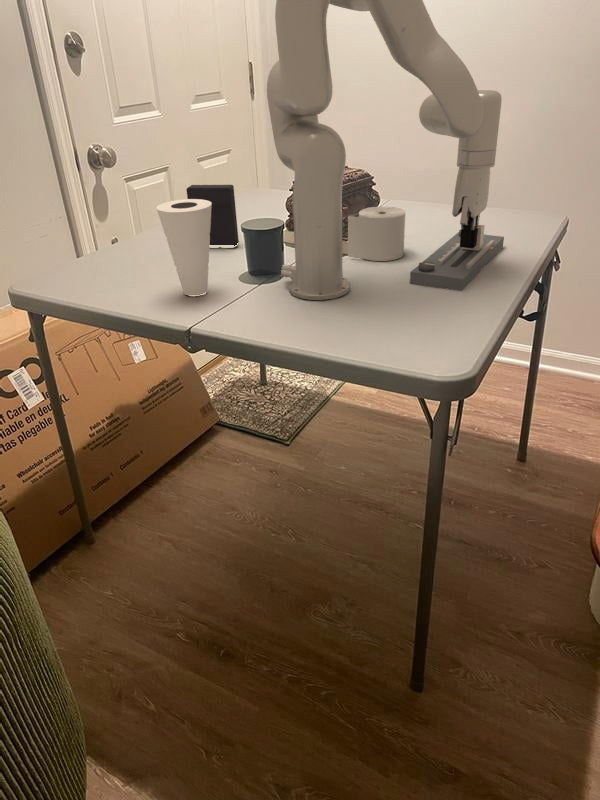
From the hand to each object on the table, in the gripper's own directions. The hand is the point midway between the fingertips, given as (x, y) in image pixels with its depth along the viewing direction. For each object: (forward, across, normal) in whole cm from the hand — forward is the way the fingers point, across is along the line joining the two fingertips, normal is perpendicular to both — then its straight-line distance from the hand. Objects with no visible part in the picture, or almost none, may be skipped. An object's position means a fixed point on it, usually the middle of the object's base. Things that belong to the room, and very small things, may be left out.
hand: (467, 246), depth 136 cm
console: (+4, 0, -2) cm, 5 cm away
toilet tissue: (+4, +1, -21) cm, 21 cm away
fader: (+1, -4, 0) cm, 4 cm away
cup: (+4, +39, -45) cm, 60 cm away
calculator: (+4, +10, -62) cm, 62 cm away
